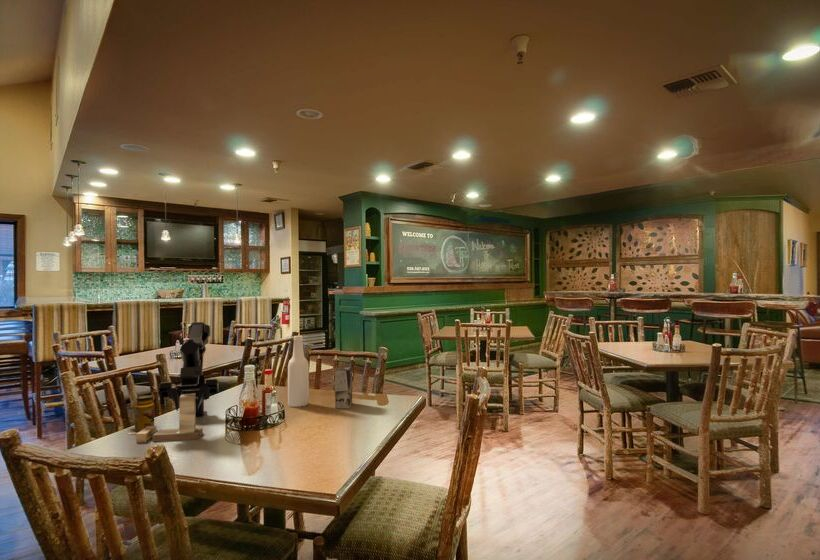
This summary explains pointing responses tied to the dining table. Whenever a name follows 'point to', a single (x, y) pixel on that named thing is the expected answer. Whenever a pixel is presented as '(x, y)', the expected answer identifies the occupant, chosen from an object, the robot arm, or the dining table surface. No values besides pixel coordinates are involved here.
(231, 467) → the dining table surface
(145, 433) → the lintel
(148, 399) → the condiment
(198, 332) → the robot arm
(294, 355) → the alcohol
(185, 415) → the birch post
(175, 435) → the flat wooden block
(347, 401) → the coffee box
